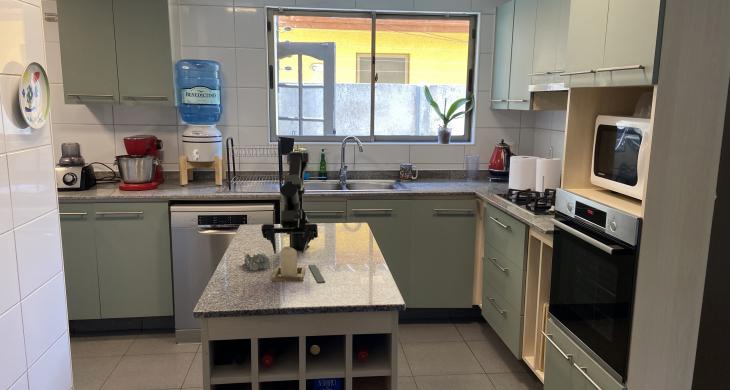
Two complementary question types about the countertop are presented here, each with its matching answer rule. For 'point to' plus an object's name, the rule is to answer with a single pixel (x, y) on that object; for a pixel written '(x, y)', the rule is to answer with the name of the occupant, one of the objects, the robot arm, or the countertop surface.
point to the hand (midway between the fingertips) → (288, 252)
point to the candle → (288, 261)
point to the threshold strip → (316, 274)
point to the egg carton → (256, 261)
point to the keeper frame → (288, 278)
